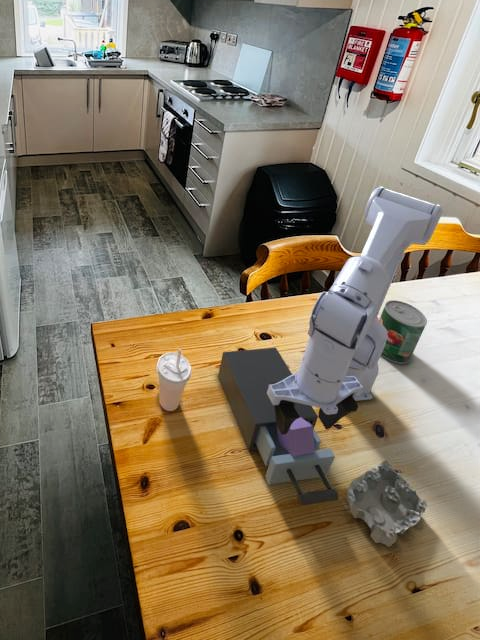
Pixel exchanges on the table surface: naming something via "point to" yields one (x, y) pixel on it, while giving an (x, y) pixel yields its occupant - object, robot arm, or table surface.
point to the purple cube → (298, 438)
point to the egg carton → (385, 503)
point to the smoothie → (172, 379)
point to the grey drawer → (296, 465)
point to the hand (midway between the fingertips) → (302, 425)
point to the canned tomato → (401, 330)
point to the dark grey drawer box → (255, 389)
